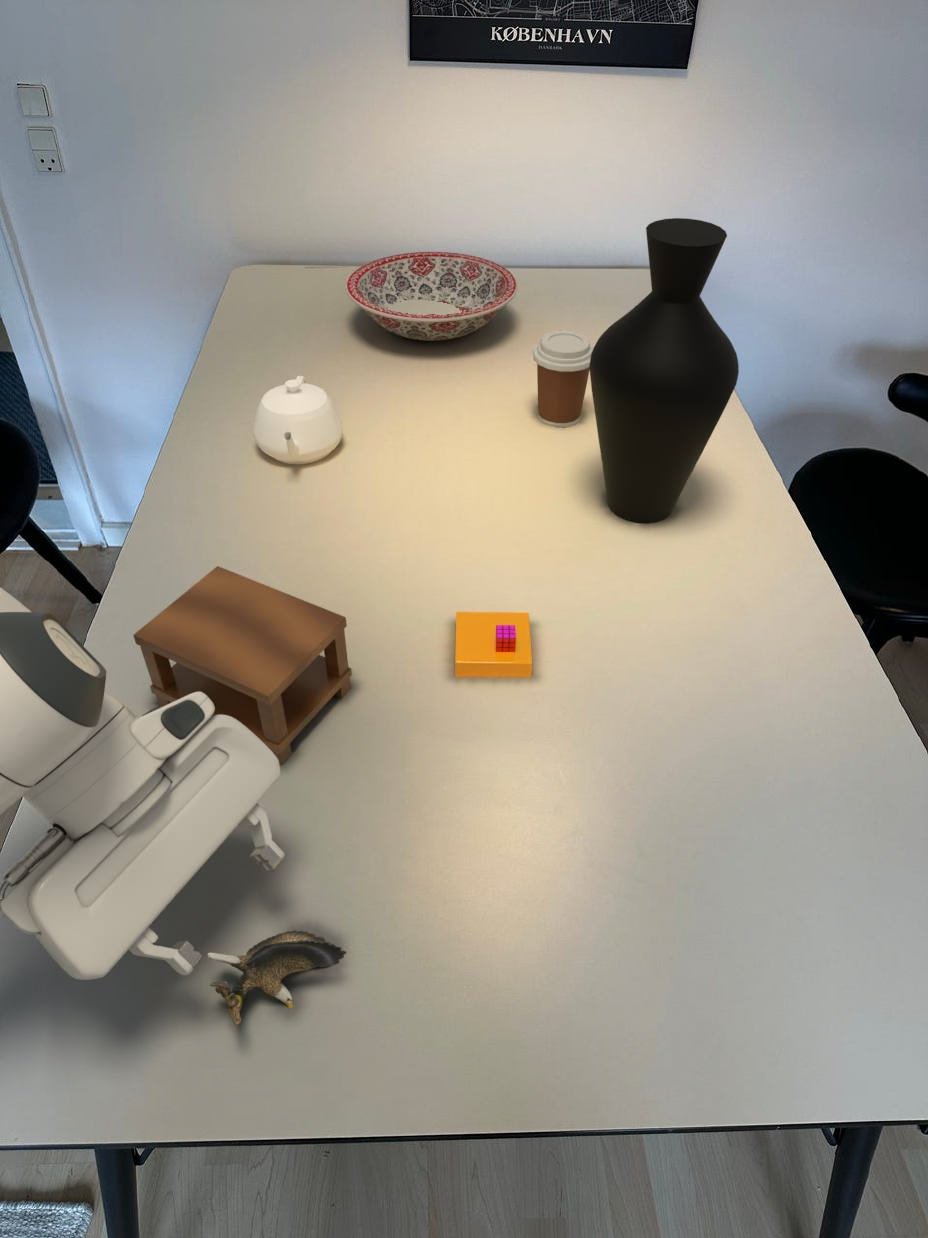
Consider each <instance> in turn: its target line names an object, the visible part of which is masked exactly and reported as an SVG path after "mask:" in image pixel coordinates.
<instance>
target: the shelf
mask: <svg viewBox="0 0 928 1238" xmlns="http://www.w3.org/2000/svg"><path fill="white" fill-rule="evenodd" d="M347 626H348V624H347V617H346V616H344V615H341V614H339V613H336V612H334V611H331V610H328V609H326V608H324V607H322V606H319V605H317V604H314V603H312V602H309V601H306V600H304V599H301V598H299V597H296V596H294V595H292V594H289V593H286V592H284V591H282V590H279V589H277V588H274V587H271V586H270V585H267V584H265V583H261V582H259V581H256V580H254V579H251V578H249V577H246V576H244V575H242V574H238V573H236V572H234V571H231V570H229V569H226V568H224V567H221V566H218V565H217V566H216V567H214V568H213V569H212V570H210V571H209V572H208V573H207V574H206V575H204V576H203V577H202V578H201V579H200V580H198V581H197V582H196V583H195V584H193V585H192V586H191V587H190V588H189V589H187V590H186V591H185V592H184V593H182V594H181V595H180V596H179V597H178V598H176V599H175V600H174V601H173V602H171V604H169V605H168V606H166V608H164V609H163V610H162V611H161V612H159V613H158V614H157V615H155V616H154V617H153V618H152V619H151V620H150V621H148V622H147V623H146V624H145V625H144V626H142V627H141V628H140V629H138V630H137V631H136V632H135V633H134V634H132V635H133V639H134V642H135V645H138V646H139V647H140V650H141V653H142V657H143V659H144V663H145V666H146V669H147V672H148V675H149V678H150V682H151V685H150V686H149V688H150V691H151V694H153V695H155V698H156V699H157V702H158V707H159V706H160V707H163V706H165V705H167V704H169V703H172V702H174V701H176V700H178V699H180V698H182V697H185V696H187V695H189V694H192V693H194V692H203V693H204V694H205V695H207V696H208V697H209V699H210V700H211V701H212V702H213V704H214V707H215V710H214V713H213V715H212V716H215V715H228V716H231V717H233V718H235V719H236V720H238V721H239V722H241V723H242V724H243V725H244V726H246V727H247V728H248V729H249V730H250V731H251V732H253V733H254V734H255V735H256V736H257V737H258V738H259V739H260V740H261V741H262V742H263V743H264V744H265V745H266V746H267V747H268V748H269V749H270V750H271V751H272V752H273V753H274V754H275V756H276V757H277V758H278V760H279V765H280V766H283V765H284V764H285V762H286V761H287V760H288V759H289V758H290V757H291V756H292V754H293V752H292V746H291V743H292V742H293V740H295V738H296V737H297V736H298V735H299V734H300V733H301V732H302V731H303V730H304V728H306V727H307V725H308V724H309V723H310V722H312V720H313V719H314V717H315V716H316V715H317V714H318V713H319V712H320V711H321V710H322V709H323V708H324V707H325V706H326V704H328V702H329V701H330V700H331V699H332V698H333V697H334V696H336V697H339V698H341V699H343V698H344V697H345V696H346V694H347V693H348V692H349V691H350V690H351V689H352V688H351V677H352V675H353V671H352V668H351V667H349V661H348V651H347V650H348V649H347V642H346V641H347V640H346V633H345V629H346V628H347ZM322 652H323V654H324V656H323V655H321V654H322ZM171 661H172V662H175V663H174V665H172V664H171ZM212 716H211V717H212Z"/></svg>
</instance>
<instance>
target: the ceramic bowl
mask: <svg viewBox="0 0 928 1238" xmlns="http://www.w3.org/2000/svg"><path fill="white" fill-rule="evenodd" d="M345 291H346V295H347V297H348V298H349V299H350V300H351V302H352V303H354V304H355V305H357V306H358V307H359V308H360V309H363V310H364V312H365V313H366V314H367V315H368V316H369V318H370V319H372V320H373V321H374V322H375V323H376V324H377V325H379V326H380V327H382V328H383V329H384V330H387V331H388V332H391V334H395V335H397V336H399V337H403V338H406V339H411V338H412V339H411V340H417V339H418V340H419V341H446V340H453V339H456V338H461V337H465V336H467V335H470V334H471V333H473V332H475V331H477V330H479V329H481V328H482V327H484V326H485V325H487V324H488V323H489V322H490V321H491V320H492V319H493V318H495V316H496V315H497V314H498V312H499V311H500V310H501V308H504V307H505V306H506V305H508V304H509V303H510V302H511V301H512V300H513V299H514V298H515V297H516V295H517V291H518V281H517V279H516V276H514V274H513V273H512V272H511V271H510V270H508V268H506V267H504V266H503V265H500V264H499V263H496V262H494V261H492V260H489V259H486V258H483V257H480V256H475V255H472V254H471V255H470V254H465V253H459V252H450V251H449V252H447V251H418V252H408V253H407V252H406V253H400V254H395V255H390V256H385V257H382V258H378V259H375V260H372V261H370V262H368V263H366V264H363V265H361V266H360V267H358V268H357V269H355V270H354V271H353V272H352V273H351V274H350V275H349V276H348V278H347V280H346V281H345ZM412 299H413V300H414V299H415V300H425V301H426V300H428V301H437V302H443V303H447V304H451V305H454V306H455V307H456V308H459V310H460V311H462V312H461V313H454V314H445V315H437V314H428V315H417V314H408V313H401V312H396V311H391V310H388V309H387V308H388V307H389V306H391V305H393V304H395V303H398V302H401V301H404V300H405V301H406V300H412Z"/></svg>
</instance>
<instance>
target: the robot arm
mask: <svg viewBox="0 0 928 1238" xmlns="http://www.w3.org/2000/svg"><path fill="white" fill-rule="evenodd" d="M106 680H107V670H106V668H105V666H104V665H103V664H101V662H100V661H98V660H97V658H96V657H94V655H92V653H90V651H88V649H87V648H86V647H85V646H84V645H83V644H82V642H80V640H78V639H77V638H76V636H75V635H73V633H71V631H70V630H69V629H68V628H67V627H66V626H65V624H63V622H62V621H61V620H60V619H59V618H58V617H57V616H56V615H55V614H53V613H51V612H50V613H49V612H32V611H31V610H30V609H29V608H28V607H26V606H25V605H24V604H23V603H21V601H19V600H18V599H17V598H15V597H14V596H12V595H11V594H10V593H9V592H8V591H6V590H5V589H3V588H2V587H1V586H0V816H1V815H2V814H3V813H4V812H6V811H7V810H8V809H9V808H11V807H12V806H13V805H14V804H16V803H17V802H18V801H19V800H20V799H21V798H23V799H24V800H26V802H28V804H29V805H31V806H32V807H33V808H34V809H35V811H37V812H38V813H39V814H40V816H42V817H43V818H44V819H45V820H46V821H47V822H48V823H49V825H51V827H50V828H49V829H48V830H47V831H46V832H45V833H44V834H43V835H42V836H41V837H40V838H39V839H38V840H37V841H36V842H35V843H34V844H33V845H32V846H31V847H30V849H29V850H28V851H26V853H25V854H24V855H23V856H22V857H20V859H19V860H16V861H15V862H14V863H13V864H11V865H10V866H9V867H8V868H7V870H5V871H4V873H3V874H2V876H1V880H2V883H1V885H0V915H2V917H3V918H4V919H6V921H8V923H10V924H11V925H12V926H13V927H14V928H15V929H16V930H17V931H19V932H20V933H22V934H24V935H29V936H35V937H36V939H37V940H38V941H39V943H40V944H41V946H42V947H43V948H44V949H45V951H46V952H47V953H48V954H49V955H50V956H51V958H52V959H53V960H54V961H55V962H56V964H58V966H59V967H60V968H61V969H62V970H63V971H64V972H65V973H66V974H67V975H68V976H70V977H71V978H73V979H76V980H81V981H82V980H83V981H88V980H89V981H90V980H95V979H96V980H97V979H102V978H103V977H105V976H107V975H108V973H109V972H110V971H111V970H112V969H113V968H114V967H115V966H116V965H117V964H118V962H119V961H120V960H121V959H122V958H123V956H124V955H125V954H126V953H127V952H128V951H129V952H130V953H132V955H134V956H138V957H144V958H150V959H155V960H164V961H165V962H166V963H167V964H168V965H169V966H170V967H171V968H172V969H173V970H174V971H175V972H176V973H178V974H180V975H181V976H189V975H190V974H191V973H192V972H193V971H194V969H195V967H196V966H197V965H198V964H199V962H200V961H201V960H202V958H203V956H202V954H201V952H199V951H198V950H195V947H194V946H193V945H192V944H191V943H190V942H189V941H188V940H183V941H181V940H180V941H176V942H175V944H174V945H173V946H172V947H167V946H163V945H157V944H155V943H156V942H157V941H158V939H159V936H158V934H156V932H154V930H152V928H151V927H150V926H151V925H152V924H153V922H154V921H155V920H156V919H157V918H158V917H159V916H160V914H161V913H163V911H164V910H165V909H166V908H167V907H168V906H169V904H170V903H171V902H172V901H173V900H174V898H175V897H177V895H178V894H179V893H180V892H181V890H183V888H184V887H185V886H186V885H187V884H188V883H189V881H191V879H192V878H193V877H194V876H195V875H196V874H197V872H198V871H199V870H200V869H201V868H202V867H203V866H204V864H205V863H207V862H208V860H209V859H210V858H211V857H212V856H213V854H214V853H215V852H216V851H217V850H218V848H220V846H221V845H222V844H224V842H225V841H226V840H227V838H228V837H229V836H230V835H231V834H232V833H233V832H234V831H235V829H236V828H237V827H238V826H239V827H240V828H241V829H247V828H249V832H250V835H251V838H252V841H253V845H254V847H255V849H254V850H253V851H252V852H251V854H250V855H249V858H251V860H252V861H253V862H254V863H258V867H259V868H260V869H261V870H262V871H264V872H266V873H267V872H270V871H271V872H273V871H274V870H275V869H276V868H277V866H278V865H280V863H281V862H282V861H283V859H284V858H285V856H286V854H285V852H284V851H283V850H282V849H281V848H280V847H279V845H278V844H277V843H276V842H274V840H273V834H272V830H271V826H270V822H269V817H268V813H267V812H266V810H264V808H263V807H261V805H260V804H259V802H260V801H261V800H262V799H263V798H264V797H265V795H266V794H267V793H268V792H269V791H270V789H272V787H273V786H274V785H275V784H276V783H277V782H278V781H279V780H280V778H281V776H282V774H281V764H279V760H278V758H277V757H276V756H275V754H274V753H273V752H272V751H271V750H270V749H269V748H268V747H267V746H266V745H265V744H264V743H263V742H262V741H261V740H260V739H259V738H258V737H257V736H256V735H255V734H254V733H253V732H251V731H250V730H249V729H248V728H247V727H246V726H244V725H243V724H242V723H241V722H239V721H238V720H236V719H235V718H233V717H231V716H228V715H215V716H212V715H213V713H214V710H215V707H214V704H213V702H212V701H211V700H210V699H209V697H208V696H207V695H205V694H204V693H203V692H194V693H192V694H189V695H187V696H185V697H182V698H180V699H178V700H176V701H174V702H172V703H169V704H167V705H165V706H163V707H161V706H159V705H158V706H156V707H153V708H151V709H150V710H147V712H145V713H143V714H142V715H141V716H140V717H139V715H136V714H134V713H133V711H132V710H130V709H129V707H128V706H127V705H125V703H124V702H123V701H122V700H120V699H119V698H118V697H115V696H113V695H112V694H110V693H108V692H107V691H106V689H105V688H106ZM211 716H212V717H211ZM8 887H11V889H10V890H9V891H7V889H8ZM6 891H7V893H6Z"/></svg>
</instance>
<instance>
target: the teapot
mask: <svg viewBox="0 0 928 1238" xmlns="http://www.w3.org/2000/svg"><path fill="white" fill-rule="evenodd" d="M252 430H253V432H252V433H253V438H254V441H255V443H256V445H257V446H258V448H259V449H260V450H261V451H262V452H263V453H265V454H266V455H268V456H269V457H271V458H273V459H274V460H276V461H278V462H280V463H283V464H288V465H308V464H311V463H315V462H318V461H320V460H323V459H324V458H326V457H327V456H328V455H330V454H331V452H332V451H334V449H336V447H337V446H339V444H340V442H341V440H342V436H343V432H344V427H343V423H342V419H341V417H340V414H339V412H338V410H337V408H336V405H335V404H334V402H333V400H332V398H331V397H330V396H329V394H328V393H327V392H326V390H324V389H323V388H322V387H320V386H318V385H315V384H312V383H306V378H305V376H304V375H297V376H296V378H295V379H289V380H286V381H285V382H284V384H281V385H277V386H275V387H272V388H271V389H269V390H267V391H266V392H265V393H264V394H263V396H262V398H261V400H260V402H259V403H258V405H257V410H256V413H255V418H254V423H253V429H252Z"/></svg>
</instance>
